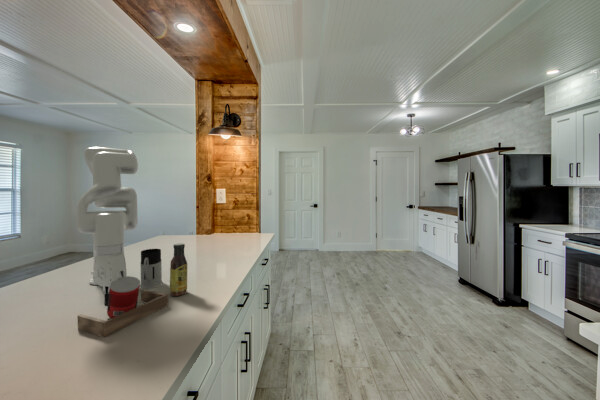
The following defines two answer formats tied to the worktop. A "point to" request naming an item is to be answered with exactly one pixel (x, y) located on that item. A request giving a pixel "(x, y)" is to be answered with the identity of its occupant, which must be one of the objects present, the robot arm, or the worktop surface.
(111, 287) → the canned food
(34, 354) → the worktop surface
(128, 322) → the wooden corner frame
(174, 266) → the sauce bottle
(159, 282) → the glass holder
